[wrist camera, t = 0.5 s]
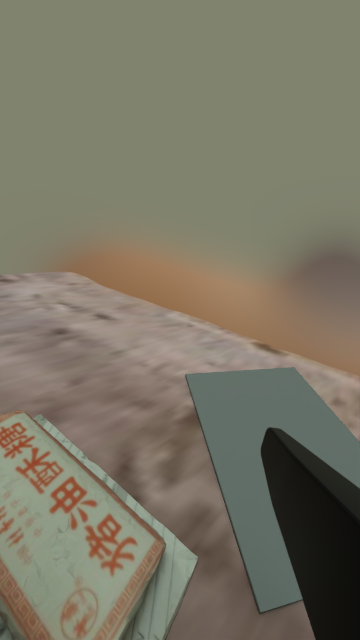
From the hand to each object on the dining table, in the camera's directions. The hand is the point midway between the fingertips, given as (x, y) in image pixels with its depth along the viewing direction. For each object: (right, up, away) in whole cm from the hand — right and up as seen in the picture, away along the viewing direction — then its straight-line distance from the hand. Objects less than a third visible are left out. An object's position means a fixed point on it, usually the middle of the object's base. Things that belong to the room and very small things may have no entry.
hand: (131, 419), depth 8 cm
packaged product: (-7, -12, +9) cm, 17 cm away
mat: (+12, -9, +17) cm, 22 cm away
